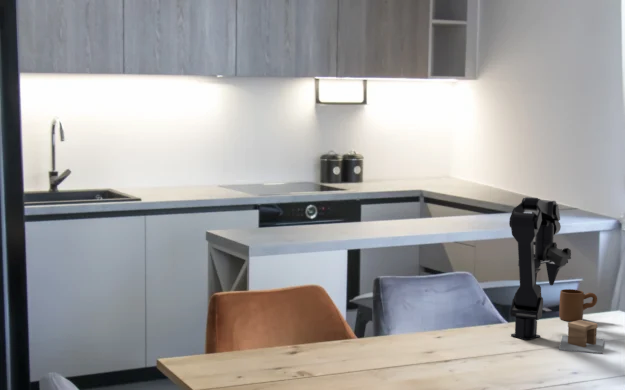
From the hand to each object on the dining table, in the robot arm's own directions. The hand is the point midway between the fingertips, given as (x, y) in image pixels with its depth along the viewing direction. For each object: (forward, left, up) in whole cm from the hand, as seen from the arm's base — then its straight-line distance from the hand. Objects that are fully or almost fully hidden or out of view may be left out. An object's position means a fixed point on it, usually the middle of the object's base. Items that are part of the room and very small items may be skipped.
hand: (542, 286), depth 299 cm
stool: (-12, -24, -12) cm, 29 cm away
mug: (+14, -4, -12) cm, 19 cm away
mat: (-12, -24, -12) cm, 29 cm away
